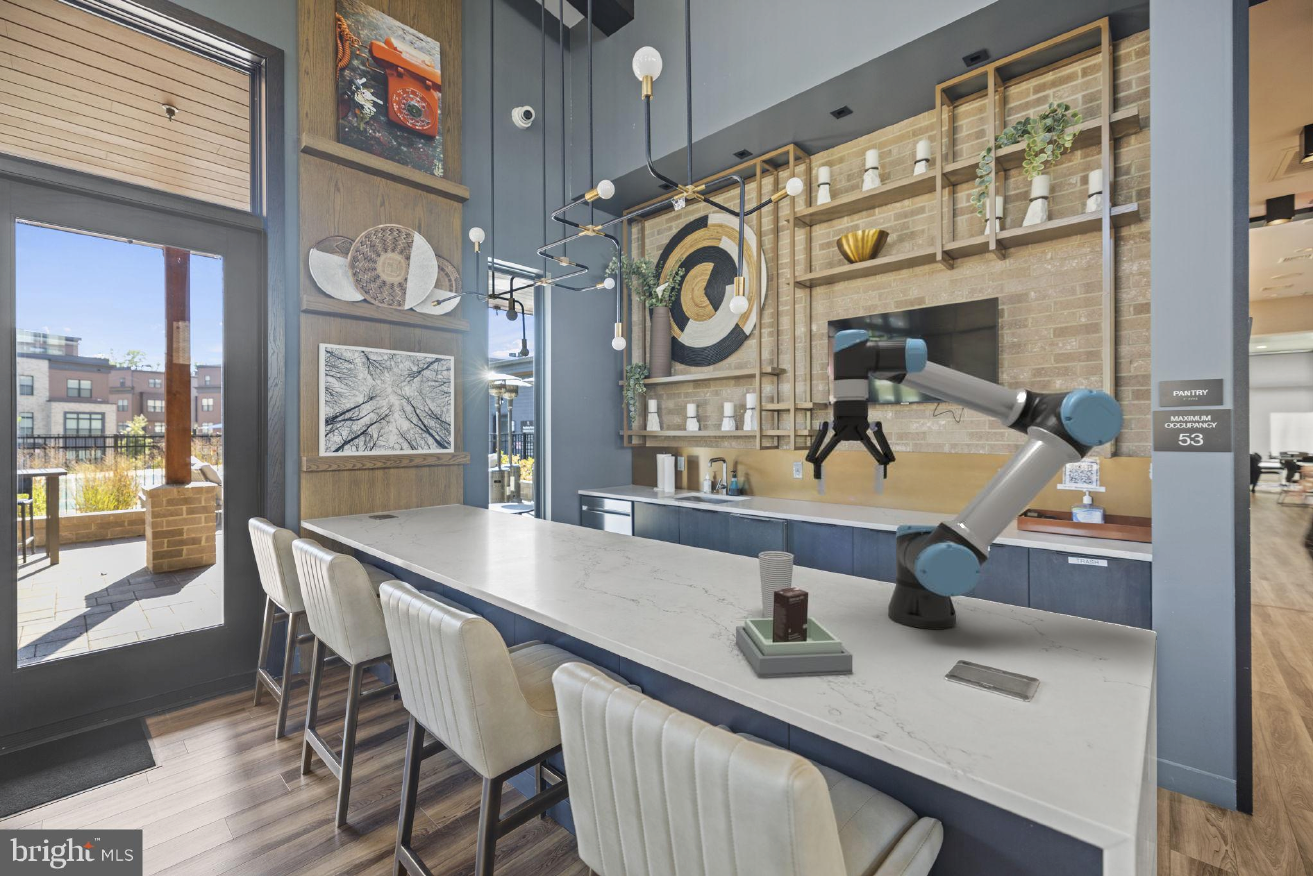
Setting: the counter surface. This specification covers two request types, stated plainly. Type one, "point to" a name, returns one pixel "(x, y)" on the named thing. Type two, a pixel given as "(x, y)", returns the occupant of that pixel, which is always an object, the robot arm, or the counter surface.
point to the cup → (774, 576)
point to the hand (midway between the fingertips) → (850, 494)
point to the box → (790, 615)
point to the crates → (792, 651)
